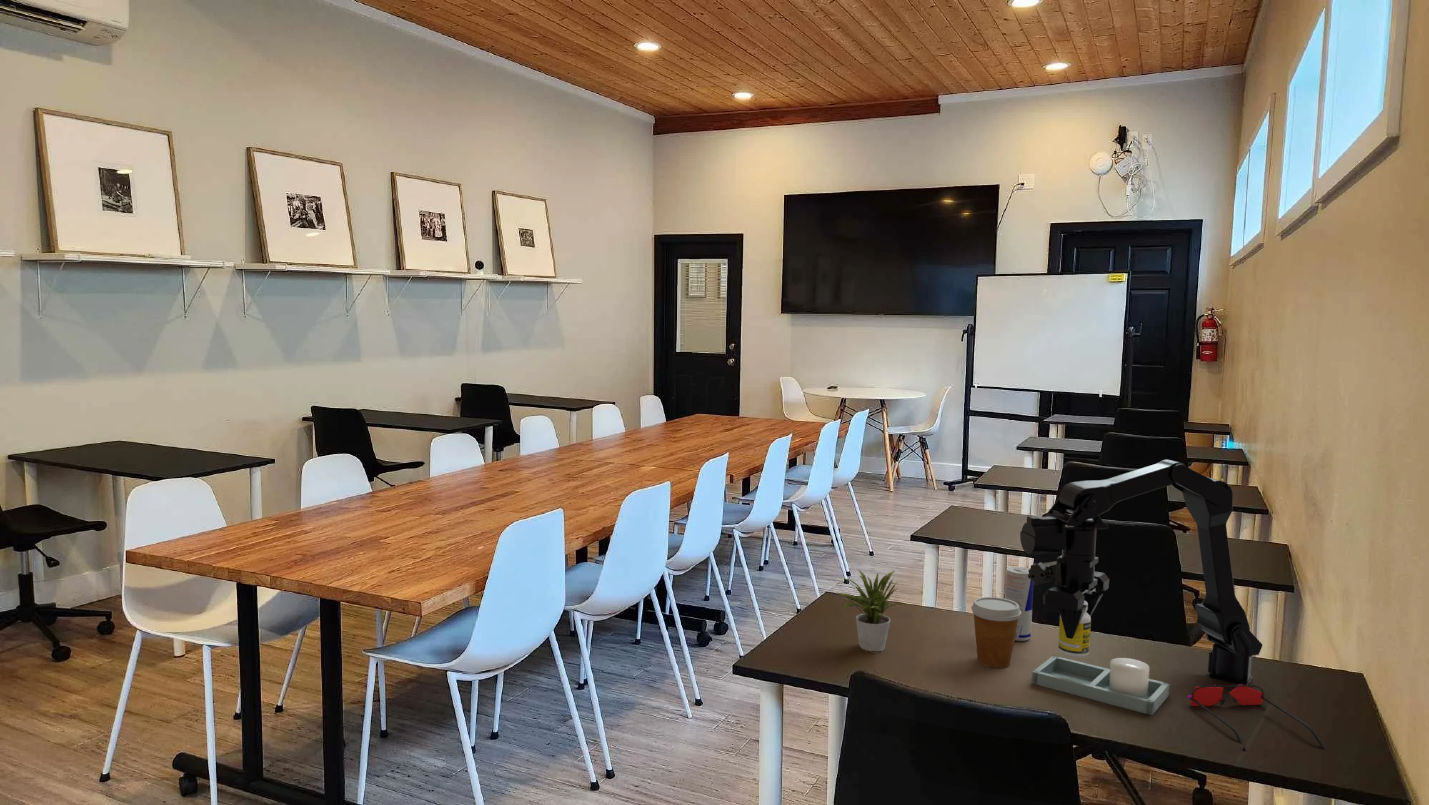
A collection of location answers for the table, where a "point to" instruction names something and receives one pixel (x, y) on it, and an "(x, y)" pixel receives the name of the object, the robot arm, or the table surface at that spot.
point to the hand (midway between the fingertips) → (1074, 634)
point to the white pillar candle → (1129, 677)
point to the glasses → (1242, 695)
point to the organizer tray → (1095, 684)
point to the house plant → (872, 612)
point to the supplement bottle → (1076, 638)
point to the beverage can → (1020, 599)
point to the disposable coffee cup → (995, 630)
